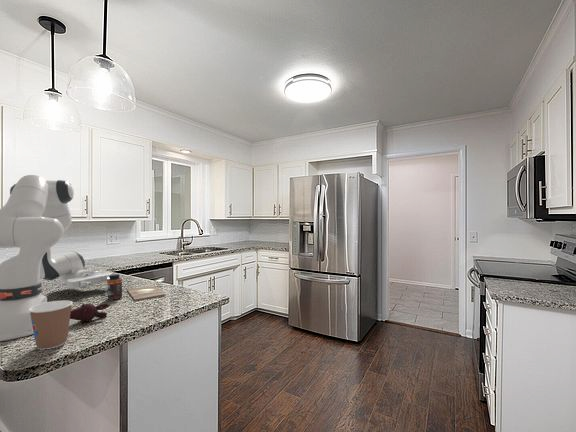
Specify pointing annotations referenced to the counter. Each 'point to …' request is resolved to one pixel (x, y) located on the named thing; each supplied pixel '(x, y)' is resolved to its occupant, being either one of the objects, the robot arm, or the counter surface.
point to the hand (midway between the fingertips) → (99, 281)
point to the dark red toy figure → (88, 312)
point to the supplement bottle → (114, 287)
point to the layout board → (145, 292)
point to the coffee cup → (50, 323)
